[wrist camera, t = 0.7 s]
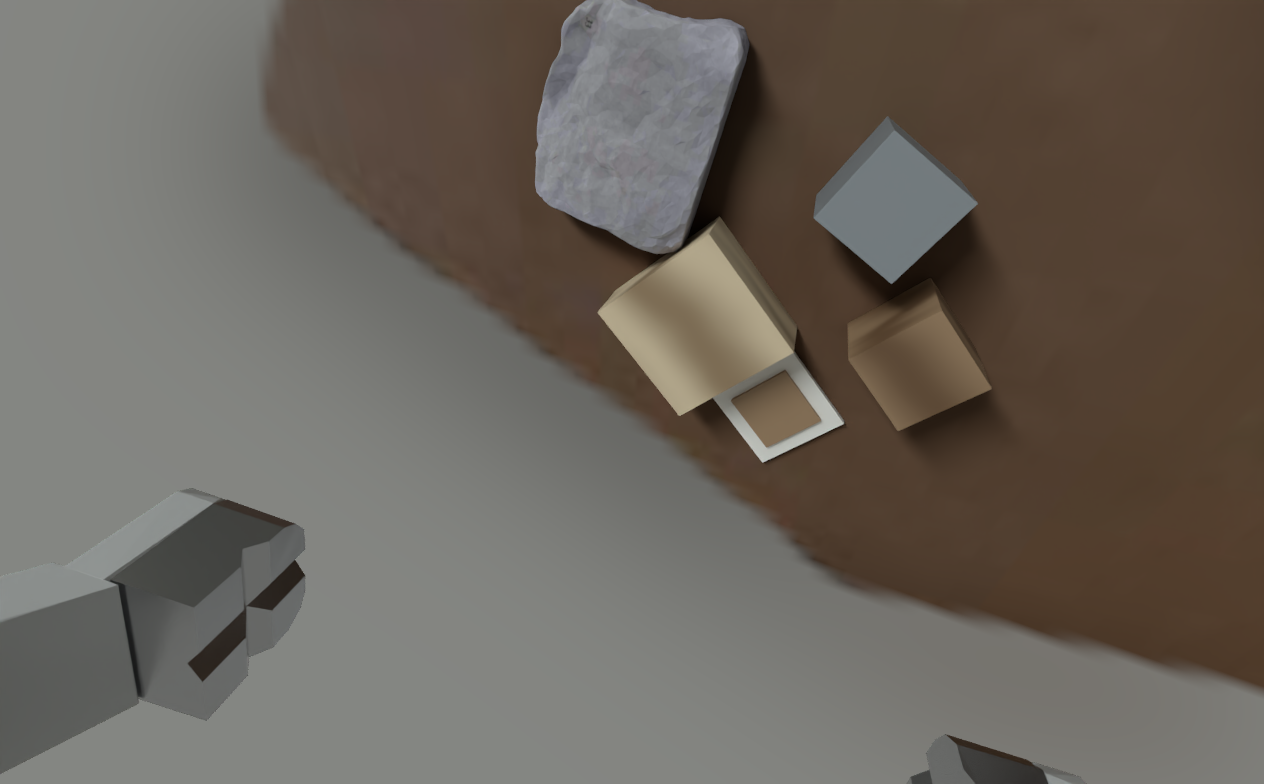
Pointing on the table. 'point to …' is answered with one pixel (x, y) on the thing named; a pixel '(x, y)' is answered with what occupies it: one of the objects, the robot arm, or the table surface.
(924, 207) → the slate cube
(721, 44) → the stone block
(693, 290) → the oak base block
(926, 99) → the table surface
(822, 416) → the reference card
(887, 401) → the walnut cube
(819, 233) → the table surface
